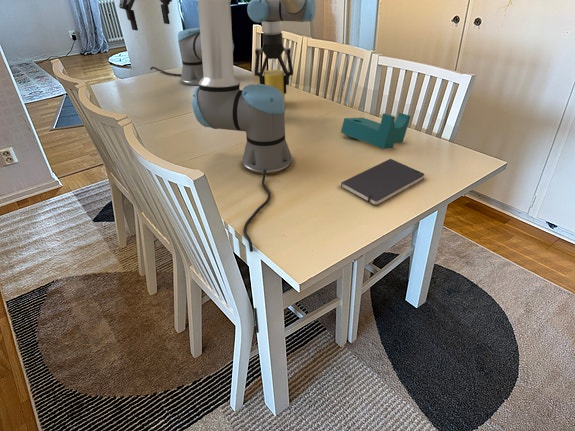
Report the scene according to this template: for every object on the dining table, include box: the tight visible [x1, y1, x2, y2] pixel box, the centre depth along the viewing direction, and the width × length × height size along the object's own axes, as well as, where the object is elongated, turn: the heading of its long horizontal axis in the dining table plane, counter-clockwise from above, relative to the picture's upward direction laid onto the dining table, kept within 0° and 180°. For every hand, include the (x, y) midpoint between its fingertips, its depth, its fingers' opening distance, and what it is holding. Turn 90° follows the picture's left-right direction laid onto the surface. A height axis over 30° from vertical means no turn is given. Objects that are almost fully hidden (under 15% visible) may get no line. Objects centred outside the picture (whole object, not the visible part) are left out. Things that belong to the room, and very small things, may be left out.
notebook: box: [340, 158, 425, 206], centre depth 114 cm, size 13×2×21 cm
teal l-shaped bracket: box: [340, 112, 412, 150], centre depth 135 cm, size 18×11×10 cm, turn 43°
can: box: [263, 69, 286, 101], centre depth 163 cm, size 8×8×11 cm
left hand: (151, 26), depth 150 cm, fingers open, 13 cm apart
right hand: (274, 92), depth 164 cm, fingers closed on can, 8 cm apart
